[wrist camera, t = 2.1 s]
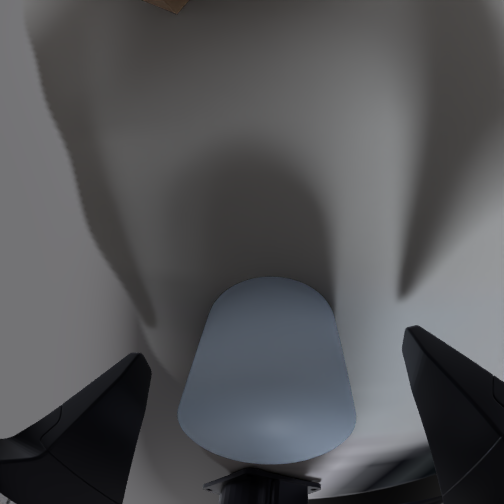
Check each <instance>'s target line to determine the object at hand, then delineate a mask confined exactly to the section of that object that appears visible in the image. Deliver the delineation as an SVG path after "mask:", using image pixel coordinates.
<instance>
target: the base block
mask: <svg viewBox="0 0 504 504" xmlns="http://www.w3.org/2000/svg"><path fill="white" fill-rule="evenodd" d="M142 1H145V2H148V3H150V4H153V5H155V6H158V7H161V8H163V9H165V10H168V11H170V12H173V13H175V14H178V13H179V12H180V10H181V9H182V8H183V7H184V6H185V4H186V3H187V2H188V1H189V0H142Z"/></svg>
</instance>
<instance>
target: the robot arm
mask: <svg viewBox="0 0 504 504" xmlns="http://www.w3.org/2000/svg"><path fill="white" fill-rule="evenodd" d="M402 353H403V357H404V361H405V364H406V369H407V373H408V377H409V381H410V386H411V390H412V393H413V396H414V399H415V402H416V405H417V408H418V411H419V414H420V417H421V420H422V423H423V427H424V430H425V433H426V436H427V440H428V443H429V447H430V450H431V454H432V457H433V461H434V465H435V468H436V472H437V476H438V480H439V485H440V489H441V493H442V499H443V504H504V382H503V381H501V380H500V379H498V378H497V377H496V376H493V375H492V374H491V373H490V372H488V371H487V370H485V369H484V368H482V367H481V366H479V365H478V364H476V363H475V362H473V361H472V360H470V359H469V358H467V357H466V356H464V355H463V354H461V353H460V352H458V351H457V350H455V349H454V348H452V347H451V346H449V345H448V344H446V343H445V342H443V341H442V340H440V339H439V338H437V337H435V336H434V335H432V334H431V333H429V332H428V331H426V330H425V329H423V328H422V327H420V326H418V325H415V326H411V327H407V328H406V329H405V333H404V339H403V345H402ZM151 375H152V374H151V369H150V367H149V365H148V363H147V361H146V359H145V357H144V355H143V354H141V353H130V354H129V355H127V356H126V357H125V358H123V359H122V360H121V361H119V362H118V363H117V364H115V365H114V366H113V367H111V368H110V369H109V370H107V371H106V372H105V373H103V374H102V375H101V376H100V377H98V378H97V379H95V380H94V381H93V382H91V383H90V384H89V385H87V386H86V387H85V388H83V389H82V390H81V391H80V392H78V393H77V394H76V395H74V396H73V397H71V398H70V399H69V400H67V401H66V402H65V403H63V405H61V406H59V407H58V408H57V409H55V410H54V411H52V412H51V413H50V414H48V415H47V416H45V417H44V418H42V419H41V420H39V421H38V422H36V423H35V424H33V425H31V426H30V427H28V428H26V429H25V430H23V431H21V432H20V433H18V434H16V435H15V436H13V437H10V438H5V439H0V504H122V502H123V498H124V494H125V489H126V485H127V481H128V476H129V472H130V468H131V464H132V459H133V456H134V452H135V448H136V443H137V440H138V436H139V432H140V429H141V425H142V421H143V418H144V414H145V410H146V405H147V398H148V392H149V387H150V381H151ZM320 489H321V484H319V483H314V482H309V481H303V480H299V479H294V478H289V477H285V476H281V475H277V474H273V473H269V472H265V471H262V470H258V469H254V468H245V469H243V470H240V471H238V472H235V473H233V474H230V475H228V476H225V477H222V478H220V479H217V480H215V481H211V482H209V483H206V484H204V485H203V490H206V491H208V492H212V493H216V494H219V495H220V498H219V504H308V494H310V493H313V492H316V491H319V490H320Z"/></svg>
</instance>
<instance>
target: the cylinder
mask: <svg viewBox="0 0 504 504" xmlns="http://www.w3.org/2000/svg"><path fill="white" fill-rule="evenodd" d="M177 414H178V415H177V416H178V421H179V424H180V426H181V428H182V430H183V431H184V432H185V433H186V435H187V436H188V437H189V438H190V439H191V440H193V441H194V442H195V443H196V444H198V445H199V446H201V447H203V448H204V449H206V450H208V451H210V452H212V453H214V454H217V455H219V456H222V457H225V458H228V459H232V460H236V461H241V462H246V463H254V464H287V463H294V462H299V461H304V460H308V459H311V458H314V457H317V456H320V455H322V454H325V453H327V452H329V451H331V450H332V449H334V448H336V447H337V446H339V445H340V444H341V443H343V442H344V441H345V440H346V439H347V438H348V437H349V435H350V434H351V433H352V431H353V429H354V427H355V424H356V412H355V407H354V402H353V397H352V392H351V387H350V382H349V378H348V373H347V368H346V364H345V360H344V355H343V351H342V347H341V342H340V338H339V334H338V330H337V326H336V322H335V318H334V314H333V311H332V309H331V307H330V305H329V304H328V302H327V301H326V300H325V298H324V297H323V296H322V295H321V294H320V293H318V292H317V291H316V290H314V289H313V288H311V287H310V286H308V285H306V284H304V283H301V282H299V281H296V280H292V279H289V278H283V277H259V278H254V279H249V280H246V281H243V282H241V283H238V284H236V285H234V286H232V287H231V288H229V289H228V290H226V291H225V292H224V293H223V294H221V295H220V297H219V298H218V299H217V300H216V301H215V303H214V304H213V306H212V308H211V310H210V312H209V315H208V318H207V321H206V324H205V327H204V330H203V333H202V336H201V339H200V342H199V345H198V348H197V351H196V354H195V357H194V361H193V364H192V367H191V370H190V373H189V376H188V379H187V382H186V385H185V388H184V391H183V395H182V398H181V401H180V404H179V407H178V412H177Z"/></svg>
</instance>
